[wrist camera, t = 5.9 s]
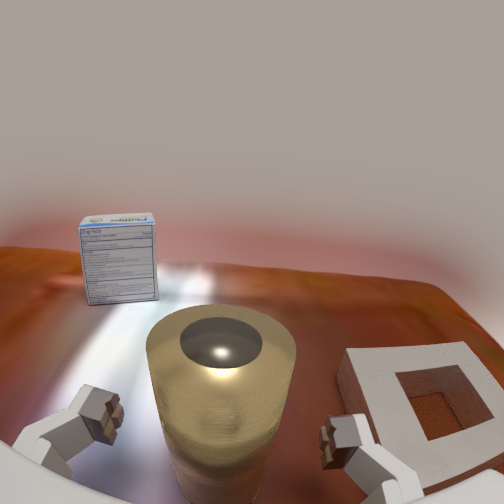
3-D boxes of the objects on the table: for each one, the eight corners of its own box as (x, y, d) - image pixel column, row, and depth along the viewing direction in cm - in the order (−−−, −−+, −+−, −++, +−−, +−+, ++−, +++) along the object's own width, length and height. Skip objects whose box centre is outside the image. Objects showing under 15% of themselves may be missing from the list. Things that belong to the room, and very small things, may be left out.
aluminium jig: (371, 515, 9) (397, 496, 8) (335, 377, 20) (345, 348, 19) (508, 459, 9) (533, 432, 8) (450, 367, 20) (463, 341, 19)
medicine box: (155, 283, 33) (153, 211, 30) (159, 301, 29) (156, 221, 26) (92, 288, 30) (84, 215, 27) (88, 307, 26) (76, 225, 23)
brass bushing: (172, 505, 9) (122, 378, 6) (185, 443, 13) (168, 296, 10) (260, 515, 9) (306, 399, 6) (261, 451, 13) (289, 307, 10)
